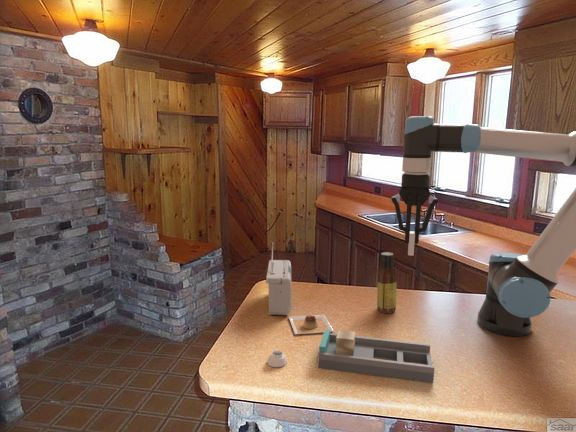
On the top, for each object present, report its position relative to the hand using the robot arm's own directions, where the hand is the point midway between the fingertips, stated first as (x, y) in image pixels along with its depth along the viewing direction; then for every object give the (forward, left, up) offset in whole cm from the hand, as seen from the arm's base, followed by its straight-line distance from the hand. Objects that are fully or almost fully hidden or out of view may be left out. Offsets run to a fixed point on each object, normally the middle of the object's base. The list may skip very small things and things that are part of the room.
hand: (410, 254), depth 125 cm
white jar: (+33, +26, -25) cm, 49 cm away
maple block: (+16, +20, -22) cm, 34 cm away
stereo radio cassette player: (+42, -11, -25) cm, 50 cm away
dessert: (+29, +2, -25) cm, 38 cm away
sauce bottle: (+6, -15, -25) cm, 29 cm away
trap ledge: (+9, +20, -24) cm, 33 cm away
